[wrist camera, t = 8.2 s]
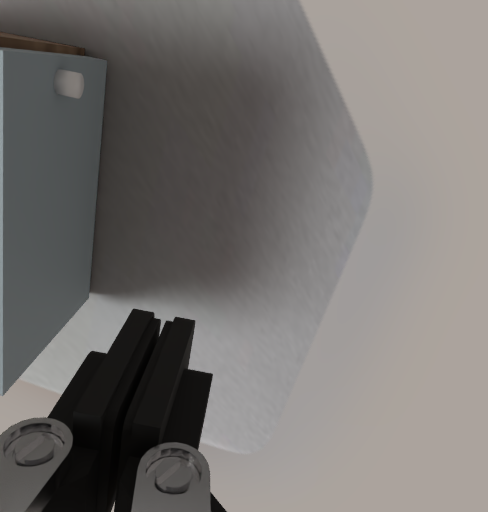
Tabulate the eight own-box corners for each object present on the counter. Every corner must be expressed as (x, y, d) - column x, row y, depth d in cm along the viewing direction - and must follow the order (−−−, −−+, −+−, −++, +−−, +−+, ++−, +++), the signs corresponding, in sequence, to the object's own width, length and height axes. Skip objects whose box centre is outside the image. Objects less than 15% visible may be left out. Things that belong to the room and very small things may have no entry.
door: (88, 56, 29) (-28, 44, 18) (123, 63, 29) (28, 56, 18) (72, 299, 35) (-20, 398, 24) (101, 305, 35) (21, 406, 24)
